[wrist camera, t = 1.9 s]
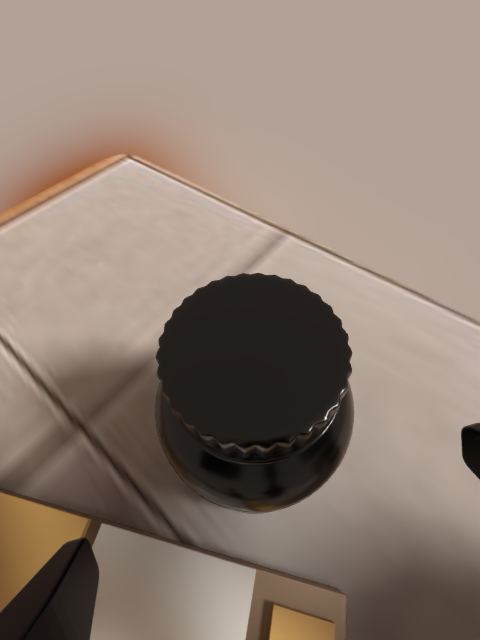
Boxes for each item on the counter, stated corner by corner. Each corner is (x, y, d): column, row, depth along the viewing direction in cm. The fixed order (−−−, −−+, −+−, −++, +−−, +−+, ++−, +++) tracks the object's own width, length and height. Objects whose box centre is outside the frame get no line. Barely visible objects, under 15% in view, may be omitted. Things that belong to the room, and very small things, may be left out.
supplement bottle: (185, 403, 19) (110, 268, 9) (289, 376, 20) (328, 225, 10) (205, 534, 15) (113, 555, 5) (333, 495, 16) (472, 448, 6)
